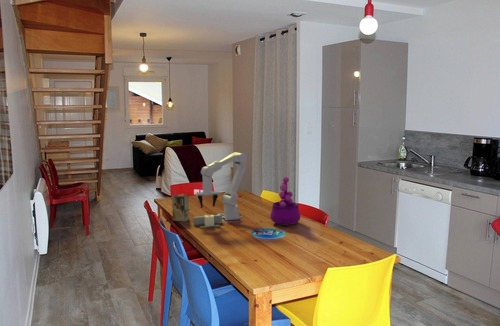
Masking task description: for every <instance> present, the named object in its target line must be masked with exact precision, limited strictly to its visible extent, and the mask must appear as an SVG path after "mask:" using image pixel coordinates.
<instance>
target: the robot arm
mask: <svg viewBox="0 0 500 326" xmlns="http://www.w3.org/2000/svg"><path fill="white" fill-rule="evenodd" d="M247 161H248V157H247V154H246V153H244V152H243V153H242V152H237V151H234V152H233V153H230V154H228V155H227V156H226V157H224V158H223V159H221V160H214V161H213V162H212V163H211V164H207V166H203V167H202V168H201V170H200V174H201V176H202V192H196V193H195V197H197V199H198V201H199V205H200V208H202V209H203V207H204V206H203V205H204V204H203V200H204V199H203V197H206V196H209V197H210V196H212V207H216V206H215V205H216V202H217V200H218V196H220V192H219V191H213V176H214V173H216V172H218V171H220V170H222V168H223V167H224V166H225V165H227V164H230V163H231V162H233V163H234V164H235V166H236V170H235V173H234V175H233V177H232V179H231V180H232V181H231V183H230V185H229V189H227V190H226V191H225V192H224V194H223V195H222V197H221V202H222V203H223V216H224V218H225V220H224V221H232V220H233V221H234V220H240V218H239V215H240V212H239V211H240V210H239V205H238V204H237V203H238V197H239V195H238V190H239V187H240V184H241V183H242V179H243V177H244V174H245V171H246V169H247Z"/></svg>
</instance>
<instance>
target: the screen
mask: <svg viewBox="0 0 500 326" xmlns="http://www.w3.org/2000/svg"><path fill="white" fill-rule="evenodd" d="M212 215H213V214H212ZM213 216H214V223H218V224H222V223H223V215H222V214H218V215H217V214H216V215H215V214H214V215H213ZM192 217H193V220H192V223H193V224H192V225H193V226H199V224H205V221H204V215H203V216H201V215H200V216H192Z"/></svg>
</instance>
